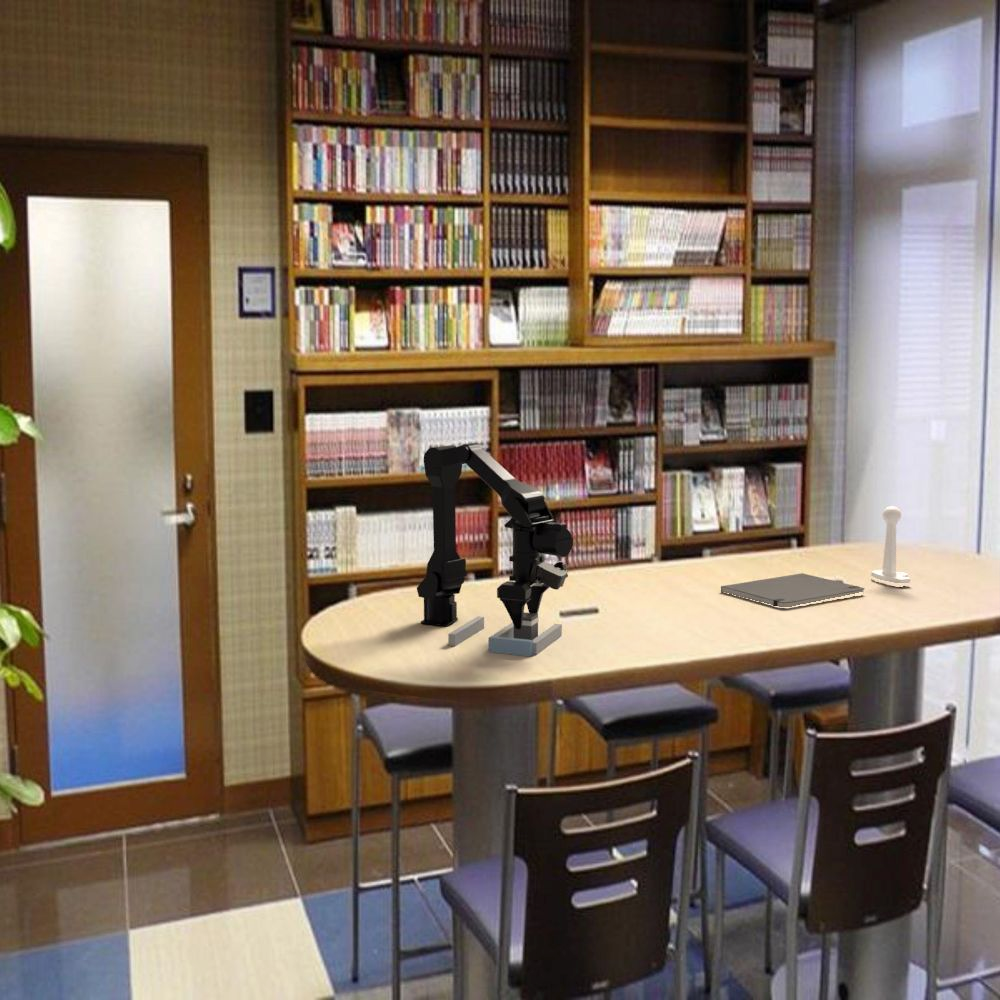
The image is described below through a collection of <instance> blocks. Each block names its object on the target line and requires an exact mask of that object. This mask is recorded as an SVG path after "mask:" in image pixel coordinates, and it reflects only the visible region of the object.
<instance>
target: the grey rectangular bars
mask: <svg viewBox="0 0 1000 1000" xmlns="http://www.w3.org/2000/svg"><path fill="white" fill-rule="evenodd" d="M483 629H485V616H479V615H478V616H475V617H474V618H472V619H470V620H469V621H467V622H466V623H464V624H461V626H459V627H457V628H455V629H453V631H451V632H450V633H448V637H447V638H448V642H447V643H448V645H451V647H456V646H458V645H460V644H461V643H462V642H464V641H465V640H467V639H469V638H471V637H473V636H474V635H475V634H477V633H478V632H480V631H481V630H483ZM562 631H563V625H562V623H554V624H552V625H551V626H550V627H549V628H547V629H545V630H544V631H543V632H542V633H540V634H538V636H537V637H536V638H535V639H533V640H527V639H517V638H514V624H513V622H512V621H511V623H509V624H507V625H505V626H504V627H503V628H502V629H500V630H498V631H497V632H495V633H494V634H493V635H490V636H489V637H488V639H487V640H488V644H487V645H488V647H487V648H488V652H489V653H495V654H505V655H515V656H524V657H531V656H533V655H536V656H537V655H538V654H540V653H541V652H542V651H543V650H545V649H546V648H547V647H548V646H550V645H551V644H553V643H554V642H555V641H557V640H558V639H560V638H561V637H562V636H563V634H562V633H563V632H562Z"/></svg>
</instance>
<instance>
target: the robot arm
mask: <svg viewBox="0 0 1000 1000" xmlns="http://www.w3.org/2000/svg"><path fill="white" fill-rule="evenodd" d="M464 464H465V465H466V466H467V467H468V468H470V469H471V470H472V471H473V472H474V473H475V474H476V475H477V476H478V477H479V478H480V479H481V480H482V481H484V482H485V484H486V485H488V486H489V488H491V489H492V490H493V491H494V492H495V493H496V494H497V495H498V496H499V498H500V500H501V505H502V507H503V508H504V509H505V510H506V511H505V512H507V513H508V514H509V517H510V519H509V520H508V521H507V522H506V523H505V524H504V525H503V526H504V527H505V528H507V529H512V555H509V557H508V559H509V562H511V563H512V573H511V574H510V575H509V580H507V581H505V582H503V583H501V584H500V585H499V586H498V587H497V588H496V598H498V599H499V600H500V602H502V604H503V606H504V607H505V609H506V611H507V613H508V616H509V617H510V620H511V623H512V622H513V624H514V626H515V628H516V629H521V627H522V621H523V614H524V612H525V606H527V607H526V608H527V610H528V613H536V614H538V615H539V609H540V606H541V602H542V599H543V597H544V596H543V595H544V593H545V592H547V590H549V589H553V590H559V589H560V588H563V586H564V584H565V581H566V579H567V578H568V577H569V574H568V573H569V571H568V570H567V564H566V563H565V562H564V561H562V560H559V561H557V562H556V563H554V564H553V563H548V562H545V556H544V555H550V556H555V557H560V558H565V557H567V556H569V554H570V553H571V552H572V549H573V546H574V538H573V535H572V533H571V531H570V530H569V529H567V523H566V522H556V519H555V518H554V516H553V514H552V512H551V510H550V508H549V506H548V505H547V502H546V501H545V499H546V497H545V496H544V494H543V493H542V492H541V491H540V490H538V489H537V488H535V487H534V486H532V485H531V484H528V483H525V482H522V481H520V480H518V479H516V477H514V476H513V475H512V474H511V473H510V472H509V471H508V470H506V469H505V468H504V467H503V466H502V465H501V464H500V463H499V462H498V461H496V460H495V458H493V457H492V456H491V455H490V454H489V453H488V452H487V451H485V449H484V446H482V444H480V443H478V442H473V443H472V442H471V443H465V444H464V443H463V444H461V445H458V446H456V445H453V444H452V445H451V444H450V445H449V444H448V445H443V446H441V445H440V446H434V447H430V448H428V449H427V450H426V451H425V452H424V454H423V467H424V473H425V477H426V478H427V481H429V484H430V485H431V488H432V523H433V524H432V525H433V526H432V527H433V528H432V531H433V532H432V533H433V538H432V539H433V551H432V553H431V556H430V557H429V559H428V562H427V565H426V573H425V574H426V575H425V577H424V578H423V579H422V581H421V582H420V583H419V584H418V585H417V587H416V592H417V595H418V597H419V598H423V619H422V620H421V621H420V624H421V625H431V626H440V627H441V626H443V627H447V626H449V625H451V624H453V623H455V622H457V621H458V620H459V618H458V615H457V614H458V611H457V610H458V609H457V608H458V606H457V601H455V600H456V599H455V595H458V594H460V592H461V588H462V585H463V584H465V583H464V582H465V577H468V575H467V571H466V564H467V560H466V558H464V557H463V558H461V556H460V555H459V553H458V551H457V536H456V535H457V529H456V527H457V526H456V524H457V523H456V485H457V483H458V482H459V480H460V479H459V478H460V477H461V475H462V471H463V465H464Z"/></svg>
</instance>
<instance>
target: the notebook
mask: <svg viewBox="0 0 1000 1000" xmlns="http://www.w3.org/2000/svg"><path fill="white" fill-rule="evenodd" d="M865 589H866V588H865V587H863V586H862V587H861V586H858V585H853V584H851V583H850V584H848V583H844V582H841V581H837V580H836V581H835V580H831V579H828V578H824V577H819V576H815V575H810V574H807V573H803V572H802V573H795V574H790V575H784V576H776V577H772V578H765V579H758V580H752V581H747V582H739V583H733V584H727V585H721V586H720V593H721V592H726V593H729V594H733V595H736V596H740V597H744V598H748V599H752V600H755V601H759V602H764V603H767V604H771V605H773V606H779V607H792V606H796V605H800V604H806V603H811V602H816V601H821V600H825V599H830V598H835V597H841V596H845V595H850V594H855V593H859V592H863V593H864V590H865ZM729 594H728V595H729ZM736 596H735V597H736ZM740 597H739V598H740Z"/></svg>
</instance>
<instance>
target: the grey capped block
mask: <svg viewBox="0 0 1000 1000" xmlns="http://www.w3.org/2000/svg"><path fill="white" fill-rule="evenodd" d="M537 636H539V613H538V614H536V613H529V612H525V611H524V614H523V621H522V627H521V629H516V628H515V626H514V638H517V639H527V640H533V639H535V638H536V637H537Z"/></svg>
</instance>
